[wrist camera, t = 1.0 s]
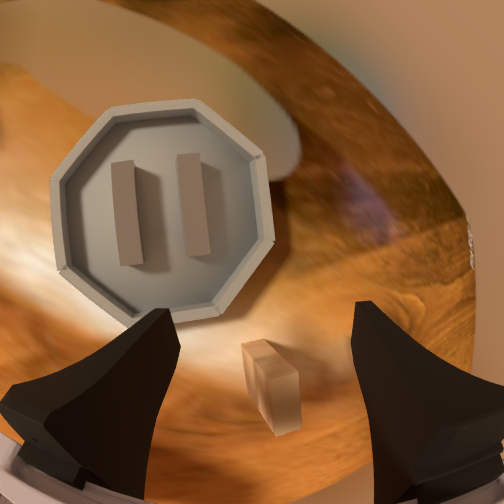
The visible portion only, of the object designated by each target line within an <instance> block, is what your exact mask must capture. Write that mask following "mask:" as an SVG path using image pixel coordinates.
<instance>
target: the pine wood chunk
mask: <svg viewBox="0 0 504 504" xmlns="http://www.w3.org/2000/svg"><path fill="white" fill-rule="evenodd" d="M241 349H242V356H243V363H244V370H245V377H246V383H247V390H248V394H249V395H250V397H251V399H252V400H253V402H254V403H255V405H256V407H257V408H258V410H259V411H260V413H261V414H262V416H263V418H264V419H265V421H266V422H267V424H268V425H269V427H270V428H271V430H272V431H273V433H274V434H275V436H279V435H283V434H286V433H289V432H292V431H295V430H298V429H301V428H302V422H301V403H300V386H299V372H298V371H297V370H296V369H295V368H294V367H293V366H292V365H291V364H290V363H289V362H288V361H286V360H285V359H284V358H283V357H282V356H281V355H280V354H279V353H278V352H277V351H276V350H275V349H274V348H272V347H271V346H270V345H269V344H268V343H267V342H266V341H265V340H264V339H260V340H256V341H251V342H247V343H242V344H241Z"/></svg>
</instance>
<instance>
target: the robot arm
mask: <svg viewBox="0 0 504 504" xmlns="http://www.w3.org/2000/svg"><path fill="white" fill-rule="evenodd" d="M180 348H181V346H180V343H179V339H178V336H177V333H176V330H175V326H174V323H173V319H172V316H171V313H170V309H169V308H155V309H154V310H152V311H151V312H149V313H148V314H146V315H145V316H144V317H142V318H141V319H140V320H139V321H137V322H136V323H135V324H133V325H132V326H131V327H130V328H128V329H127V330H126V331H124V332H123V333H122V334H120V335H119V336H118V337H116V338H115V339H114V340H112V341H111V342H109V343H108V344H106V345H105V346H104V347H102V348H101V349H99V350H98V351H96V352H95V353H93V354H91V355H90V356H88V357H86V358H84V359H83V360H81V361H79V362H77V363H75V364H73V365H71V366H69V367H66V368H64V369H62V370H60V371H58V372H55V373H53V374H50V375H47V376H44V377H41V378H38V379H35V380H31V381H28V382H24V383H19V384H15V385H12V386H11V388H10V389H9V390H8V392H7V393H6V394H5V396H4V397H3V399H2V400H1V401H0V413H1V415H2V416H3V417H4V419H5V420H6V421H7V422H8V423H9V425H10V426H11V427H12V428H13V429H14V430H15V431H16V432H17V433H18V434H19V435H20V437H21V438H22V439H23V440H24V441H25V442H24V444H23V446H22V445H20V444H19V443H18V442H16V441H15V440H13V439H12V438H10V437H8V436H7V435H5V434H3V433H0V504H156V503H152V502H148V501H144V490H145V478H146V470H147V463H148V456H149V450H150V445H151V440H152V436H153V431H154V427H155V423H156V419H157V416H158V413H159V410H160V407H161V405H162V402H163V399H164V397H165V394H166V392H167V389H168V387H169V384H170V382H171V379H172V376H173V374H174V371H175V369H176V365H177V361H178V357H179V352H180ZM351 348H352V355H353V361H354V366H355V370H356V373H357V377H358V380H359V384H360V387H361V391H362V394H363V398H364V402H365V405H366V409H367V413H368V418H369V425H370V433H371V441H372V452H373V466H374V504H504V459H503V460H502V458H501V455H500V453H501V452H503V449H504V448H503V446H502V443H501V441H502V440H503V439H504V386H501V385H498V384H495V383H491V382H488V381H485V380H483V379H481V378H478V377H475V376H473V375H471V374H469V373H467V372H465V371H462V370H461V369H459V368H457V367H455V366H453V365H451V364H449V363H448V362H446V361H444V360H442V359H441V358H439V357H438V356H436V355H435V354H433V353H432V352H430V351H429V350H427V349H426V348H424V347H423V346H422V345H420V344H419V343H418V342H417V341H415V340H414V339H413V338H412V337H410V336H409V335H408V334H407V333H406V332H404V331H403V330H402V329H401V328H400V327H399V326H398V325H396V324H395V323H394V322H393V321H392V320H391V319H390V318H389V317H388V316H387V315H386V314H385V313H384V312H382V311H381V310H380V309H379V308H378V307H377V306H376V305H375V304H374V303H373V302H372V301H360V302H355V312H354V321H353V329H352V337H351Z"/></svg>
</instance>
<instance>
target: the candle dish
mask: <svg viewBox="0 0 504 504" xmlns="http://www.w3.org/2000/svg"><path fill="white" fill-rule="evenodd" d="M263 153H264V152H262V151H261V150H260V149H259V148H258V147H257V146H255V145H254V144H253V143H252V142H251V141H249V140H248V139H247V138H246V137H245V136H244V135H242V134H241V133H240V132H239V131H238V130H236V129H235V128H234V127H233V126H231V125H230V124H229V123H228V122H226V121H225V120H224V119H223V118H222V117H220V116H219V115H218V114H217V113H215V112H214V111H213V110H211V109H210V108H209V107H207V106H206V105H205V104H204V103H202V102H201V101H200V100H198V101H196V99H182V100H168V101H156V102H147V103H138V104H131V105H123V106H116V107H110V110H109V109H107V110H106V111H105V112H104V113H103V115H101V116H100V117H99V119H98V120H97V121H96V122H95V123H94V124H93V125H92V126H91V127H90V129H89V130H88V131H87V132H86V133H85V134H84V135H83V137H82V138H81V139H80V140H79V141H78V143H77V144H76V145H75V146H74V147H73V149H72V150H71V151H70V152H69V154H68V155H67V156H66V157H65V159H64V160H63V161H62V163H61V164H60V165H59V167H58V168H57V169H56V171H55V172H54V173H53V175H52V176H51V177H50V178H52V179H53V180H50V206H51V221H52V232H53V242H54V250H55V258H56V265H57V271H59V270H61V271H60V272H59V274H60V275H61V276H62V277H64V278H65V279H66V280H67V281H68V282H69V283H71V284H72V285H73V286H74V287H75V288H76V289H78V290H79V291H80V292H81V293H83V294H84V295H85V296H86V297H87V298H89V299H90V300H91V301H93V302H94V303H95V304H96V305H98V306H99V307H100V308H101V309H103V310H104V311H105V312H107V313H108V314H109V315H111V316H112V317H113V318H115V319H116V320H117V321H119V322H120V323H122V324H123V325H124V326H126V327H127V328H130V327H131V326H132V325H133V324H135V323H136V322H137V321H139V320H140V319H141V318H142V317H144V316H145V315H146V314H148V313H149V312H151V311H152V310H154V309H155V308H169V309H170V313H171V316H172V319H173V323H181V322H187V321H193V320H199V319H205V318H211V317H217V316H220V315H219V313H221V314H223V313H224V311H225V310H226V309H227V307H228V306H229V305H230V303H231V302H232V301H233V299H234V298H235V296H236V295H237V294H238V292H239V291H240V290H241V288H242V287H243V286H244V284H245V283H246V282H247V280H248V279H249V278H250V276H251V275H252V273H253V272H254V271H255V269H256V268H257V267H258V265H259V264H260V263H261V261H262V260H263V258H264V257H265V256H266V254H267V253H268V252H269V250H270V249H271V248H272V246H273V245H274V242H273V241H275V233H274V224H273V215H272V207H271V198H270V190H269V182H268V174H267V166H266V158H265V155H262V154H263Z"/></svg>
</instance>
